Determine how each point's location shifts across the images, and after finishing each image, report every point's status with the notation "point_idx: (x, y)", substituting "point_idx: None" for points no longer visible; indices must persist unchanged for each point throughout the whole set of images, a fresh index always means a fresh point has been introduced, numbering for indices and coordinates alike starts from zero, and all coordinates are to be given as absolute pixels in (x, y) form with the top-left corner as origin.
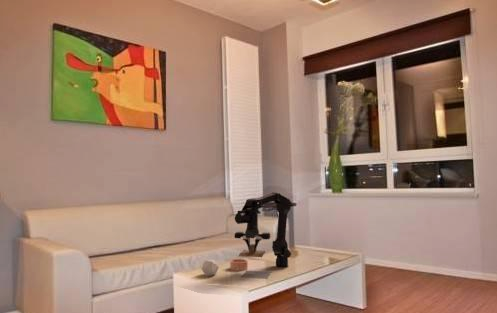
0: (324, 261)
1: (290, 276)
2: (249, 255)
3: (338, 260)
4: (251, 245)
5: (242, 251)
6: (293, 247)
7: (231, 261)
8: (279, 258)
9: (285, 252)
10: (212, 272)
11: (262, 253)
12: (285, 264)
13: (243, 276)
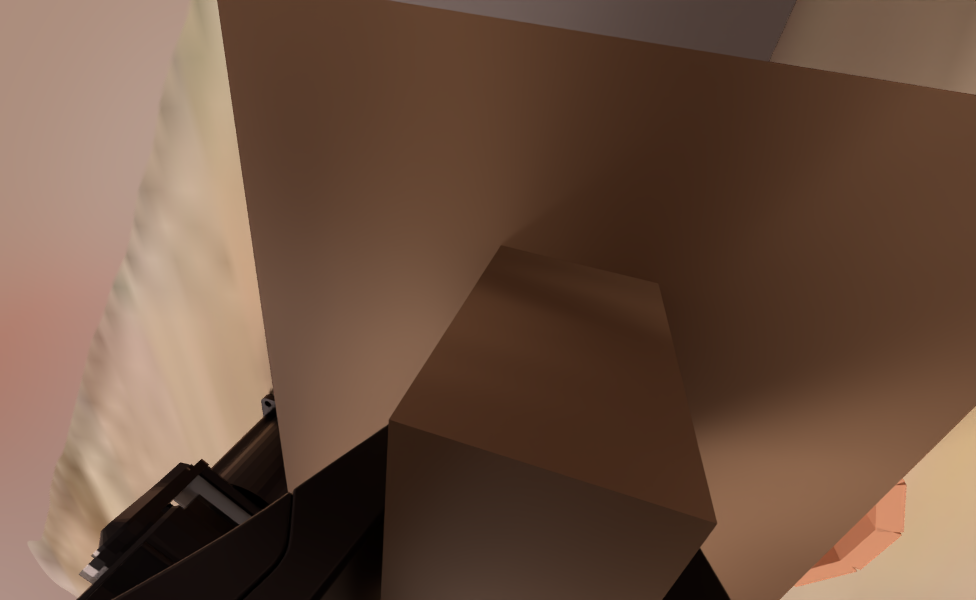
0: (118, 503)
1: (176, 134)
2: (674, 47)
3: (68, 504)
4: (534, 586)
5: (812, 556)
6: None
7: (896, 496)
8: (274, 486)
9: (144, 505)
10: None
11: (269, 270)
12: (263, 431)
13: (740, 22)
